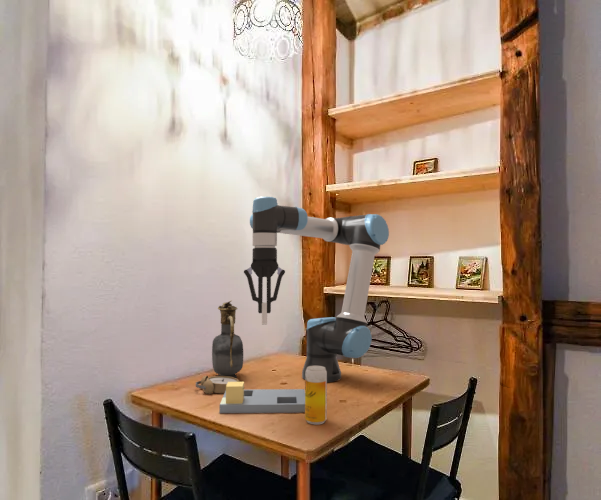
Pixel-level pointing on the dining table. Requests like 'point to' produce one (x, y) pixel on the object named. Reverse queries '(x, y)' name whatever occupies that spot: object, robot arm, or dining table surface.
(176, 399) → the dining table surface
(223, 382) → the alarm clock
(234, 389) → the block
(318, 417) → the beer can
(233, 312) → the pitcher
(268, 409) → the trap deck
